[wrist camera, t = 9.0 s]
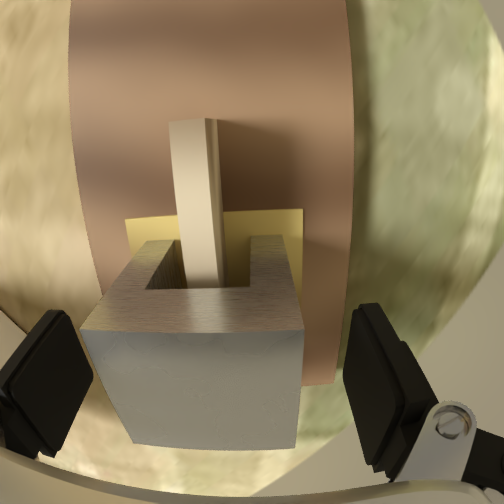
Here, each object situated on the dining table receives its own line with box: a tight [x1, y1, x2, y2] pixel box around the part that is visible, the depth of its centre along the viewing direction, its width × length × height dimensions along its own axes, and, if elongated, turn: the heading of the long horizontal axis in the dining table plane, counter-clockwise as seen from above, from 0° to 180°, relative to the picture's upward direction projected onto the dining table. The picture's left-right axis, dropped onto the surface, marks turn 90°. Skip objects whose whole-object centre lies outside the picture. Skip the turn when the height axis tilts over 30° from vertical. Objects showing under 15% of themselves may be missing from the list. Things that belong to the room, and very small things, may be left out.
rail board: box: [68, 0, 354, 386], centre depth 11 cm, size 22×11×4 cm, turn 3°
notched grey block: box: [79, 234, 305, 450], centre depth 11 cm, size 5×5×6 cm
